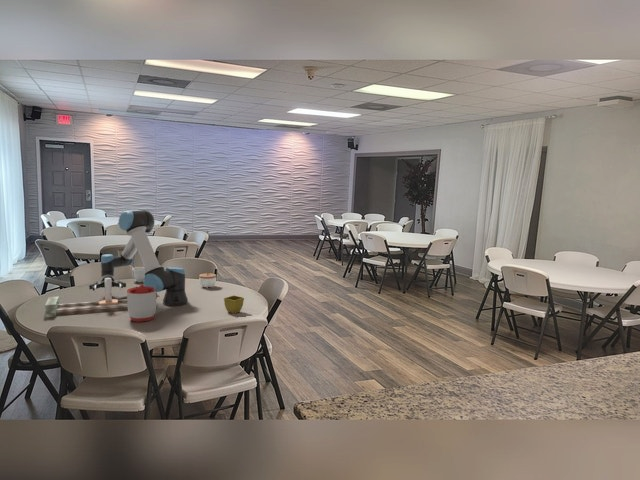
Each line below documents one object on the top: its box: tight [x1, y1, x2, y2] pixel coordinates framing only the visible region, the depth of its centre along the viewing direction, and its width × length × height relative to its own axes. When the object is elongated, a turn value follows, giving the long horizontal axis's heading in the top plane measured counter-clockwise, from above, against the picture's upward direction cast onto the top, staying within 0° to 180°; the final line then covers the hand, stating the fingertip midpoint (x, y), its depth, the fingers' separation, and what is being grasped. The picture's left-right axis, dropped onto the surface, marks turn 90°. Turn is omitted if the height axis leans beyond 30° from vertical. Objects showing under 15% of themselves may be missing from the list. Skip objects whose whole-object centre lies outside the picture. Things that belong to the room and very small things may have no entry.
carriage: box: [99, 278, 119, 306], centre depth 259 cm, size 10×8×16 cm
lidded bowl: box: [198, 272, 217, 288], centre depth 321 cm, size 13×13×11 cm
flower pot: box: [223, 295, 245, 314], centre depth 262 cm, size 9×9×9 cm
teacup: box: [131, 266, 146, 283], centre depth 330 cm, size 12×15×10 cm
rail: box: [44, 296, 128, 318], centre depth 256 cm, size 48×18×7 cm, turn 116°
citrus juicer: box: [126, 284, 161, 323], centre depth 242 cm, size 16×17×20 cm
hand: (108, 289), depth 257 cm, fingers open, 13 cm apart
